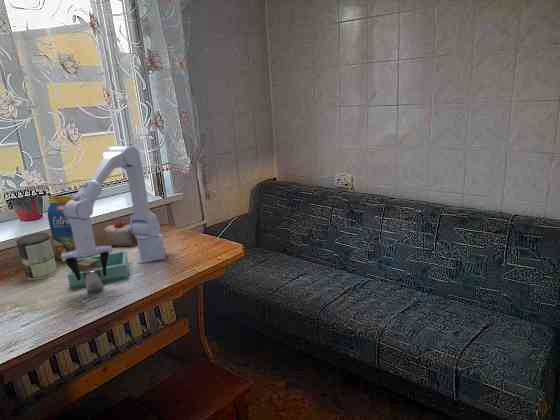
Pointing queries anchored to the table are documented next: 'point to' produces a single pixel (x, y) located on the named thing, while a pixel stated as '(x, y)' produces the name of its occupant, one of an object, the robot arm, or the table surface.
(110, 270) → the tote
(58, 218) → the blue food package
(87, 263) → the walnut cube
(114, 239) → the food item
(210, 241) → the table surface
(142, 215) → the robot arm
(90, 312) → the table surface
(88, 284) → the metal cylinder
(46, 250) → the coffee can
